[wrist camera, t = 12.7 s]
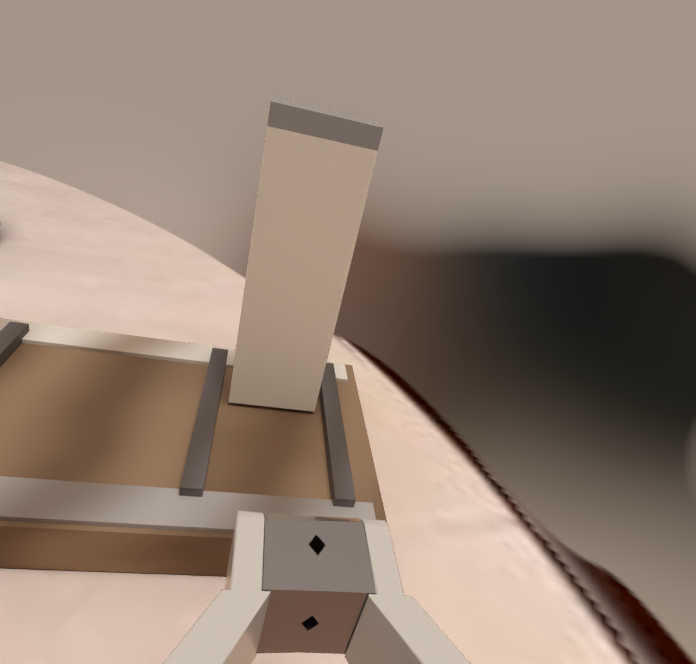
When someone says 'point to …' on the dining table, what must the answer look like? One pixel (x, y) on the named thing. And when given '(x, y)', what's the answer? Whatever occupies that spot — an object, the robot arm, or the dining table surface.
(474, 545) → the dining table surface
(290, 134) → the tab
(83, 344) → the slotted wooden base
